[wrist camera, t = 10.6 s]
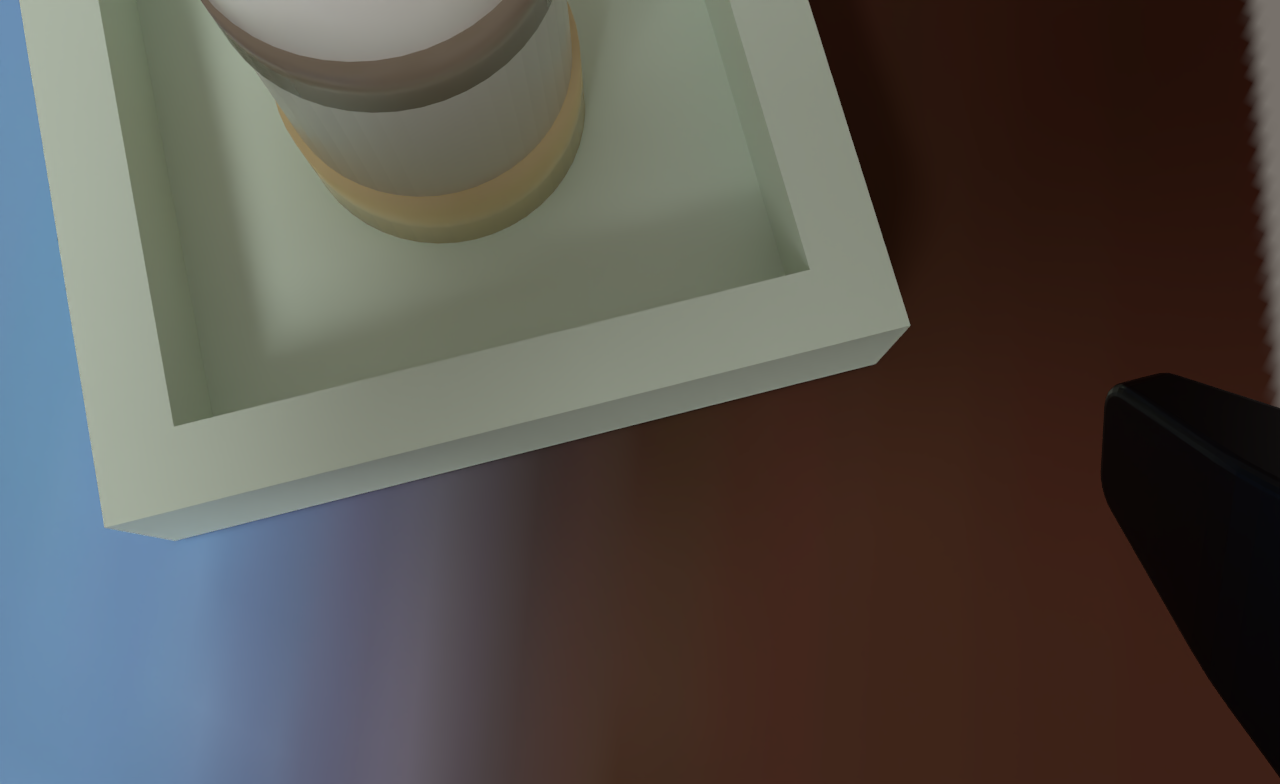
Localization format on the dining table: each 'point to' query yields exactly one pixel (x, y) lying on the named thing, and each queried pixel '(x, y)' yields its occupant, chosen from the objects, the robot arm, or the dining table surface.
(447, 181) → the beige round cylinder
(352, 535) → the dining table surface
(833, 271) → the parts tray
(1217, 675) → the robot arm
